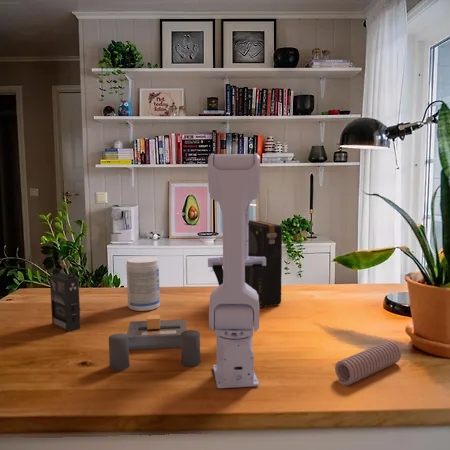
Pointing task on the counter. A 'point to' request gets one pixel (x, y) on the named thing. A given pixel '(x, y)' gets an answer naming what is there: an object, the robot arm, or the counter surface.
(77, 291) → the geiger counter
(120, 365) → the post left
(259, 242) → the black upright block
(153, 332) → the panel
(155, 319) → the block
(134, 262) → the supplement tub
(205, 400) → the counter surface
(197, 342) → the post right
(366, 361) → the coil
